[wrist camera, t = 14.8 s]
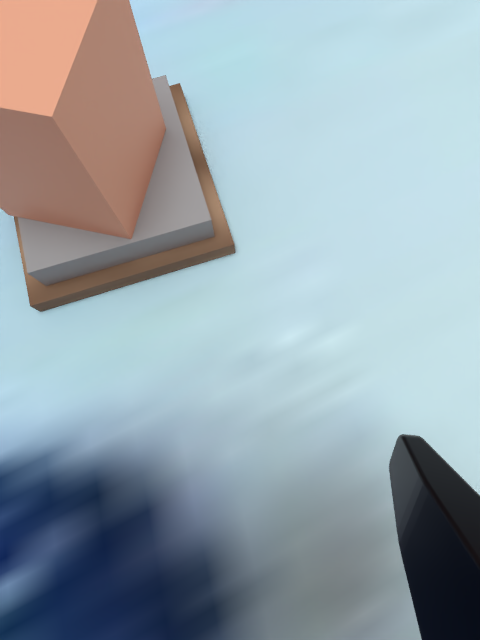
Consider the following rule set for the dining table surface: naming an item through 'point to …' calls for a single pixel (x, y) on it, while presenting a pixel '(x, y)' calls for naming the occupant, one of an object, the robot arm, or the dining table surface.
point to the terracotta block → (76, 114)
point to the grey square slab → (153, 222)
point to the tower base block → (152, 264)
